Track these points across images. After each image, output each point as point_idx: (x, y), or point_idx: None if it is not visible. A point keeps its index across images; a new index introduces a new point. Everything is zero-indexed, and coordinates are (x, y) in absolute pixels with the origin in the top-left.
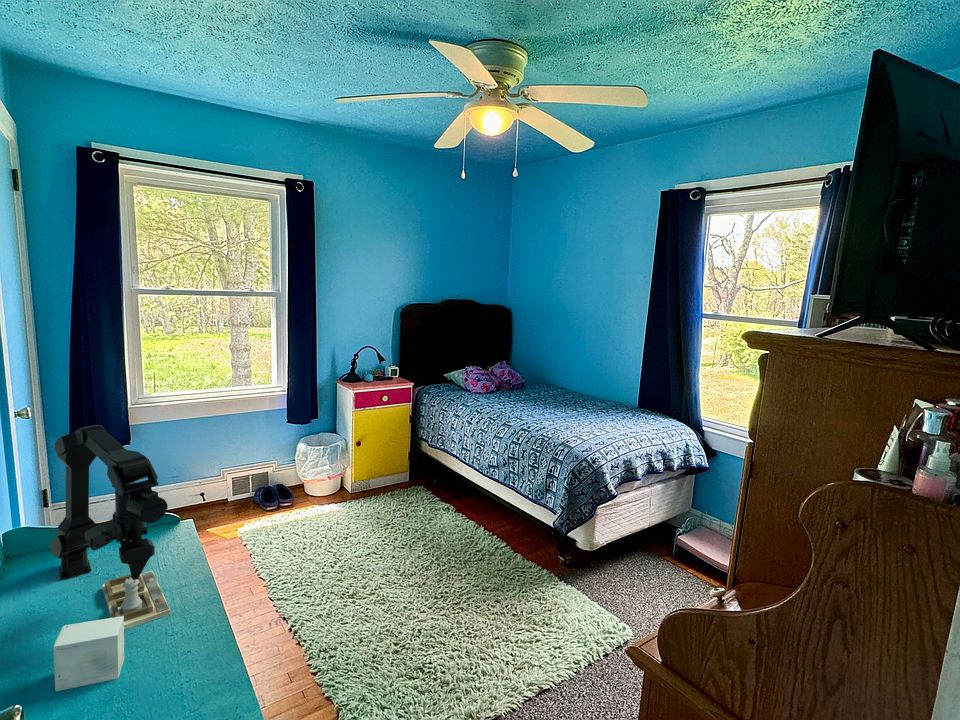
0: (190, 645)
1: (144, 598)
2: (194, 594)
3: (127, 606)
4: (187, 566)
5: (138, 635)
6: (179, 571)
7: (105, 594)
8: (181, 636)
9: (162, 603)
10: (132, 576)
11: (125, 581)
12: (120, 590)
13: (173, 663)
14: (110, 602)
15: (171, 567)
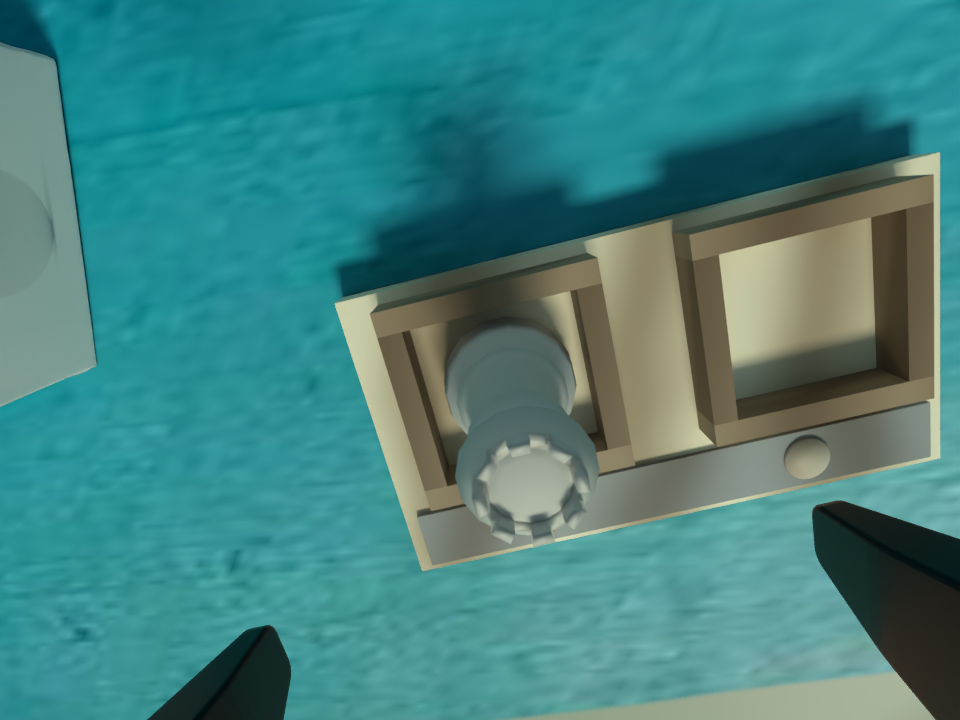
0: (126, 638)
1: None
2: (568, 649)
3: (461, 377)
4: None
5: (279, 416)
6: None
7: (781, 192)
8: (208, 603)
9: None
10: (190, 688)
11: (516, 448)
12: (783, 286)
13: (4, 578)
14: (655, 239)
15: None
